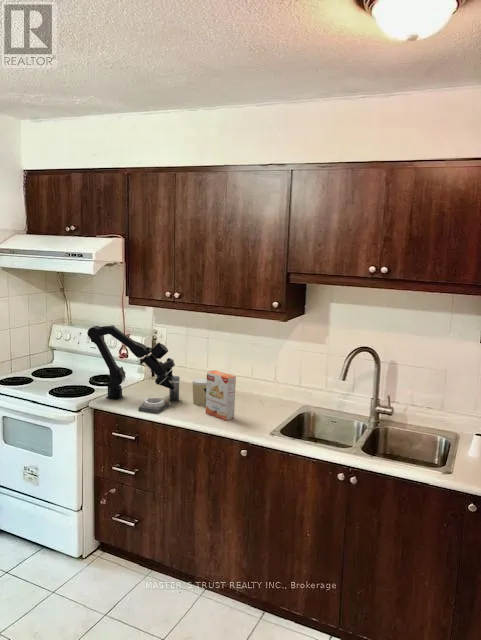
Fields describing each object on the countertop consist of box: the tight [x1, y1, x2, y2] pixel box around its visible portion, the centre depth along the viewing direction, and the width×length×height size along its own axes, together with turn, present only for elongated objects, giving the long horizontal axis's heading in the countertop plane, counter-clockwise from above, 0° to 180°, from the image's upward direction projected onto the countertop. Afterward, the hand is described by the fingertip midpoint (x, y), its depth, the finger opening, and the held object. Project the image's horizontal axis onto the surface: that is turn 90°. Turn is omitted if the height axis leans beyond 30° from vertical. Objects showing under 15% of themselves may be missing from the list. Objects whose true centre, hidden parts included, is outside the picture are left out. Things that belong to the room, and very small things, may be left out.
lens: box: [168, 375, 181, 403], centre depth 266 cm, size 5×5×13 cm
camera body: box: [138, 396, 170, 415], centre depth 254 cm, size 10×13×4 cm
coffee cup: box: [192, 377, 207, 407], centre depth 264 cm, size 9×9×12 cm
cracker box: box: [205, 369, 237, 421], centre depth 246 cm, size 14×6×21 cm, turn 49°
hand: (175, 386), depth 266 cm, fingers open, 9 cm apart
